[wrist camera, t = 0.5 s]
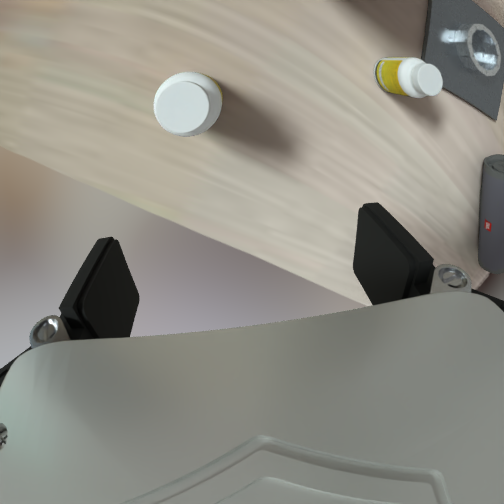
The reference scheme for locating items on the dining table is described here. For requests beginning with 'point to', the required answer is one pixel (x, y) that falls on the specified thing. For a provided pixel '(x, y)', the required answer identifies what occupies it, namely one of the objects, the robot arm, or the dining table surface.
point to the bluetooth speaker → (492, 215)
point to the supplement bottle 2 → (408, 77)
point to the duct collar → (466, 52)
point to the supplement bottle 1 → (188, 103)
